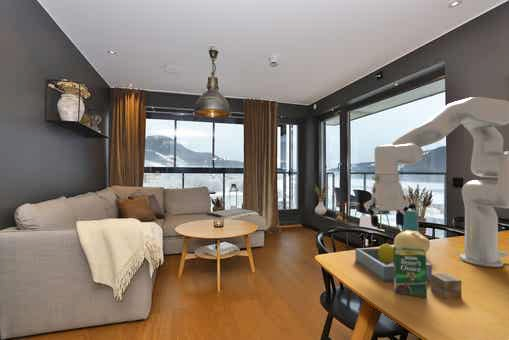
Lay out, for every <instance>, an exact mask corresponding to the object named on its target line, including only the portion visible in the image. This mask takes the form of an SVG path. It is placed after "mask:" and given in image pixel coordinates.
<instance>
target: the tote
mask: <svg viewBox="0 0 509 340" xmlns="http://www.w3.org/2000/svg"><path fill="white" fill-rule="evenodd" d="M379 248H380V247H362V248H361V247H359V248H356V247H355V255H354V256H355V259H354V260H355V263H357V264H358V265H360V266H361V267H362V268H364V269H366V271H368V272H369V273H371V274H372V275H373V276H374V277H376V278H377V279H379V280H380V281H381V282H383V283H394V261H393V262H392V263H390V264H388V265H386V264H385V263H383V262H382V261H381V260H380V258H379V255H378V251H379ZM432 271H433V264H431V263H429V262H427V261H426V276H427V281H431V274H433V272H432Z"/></svg>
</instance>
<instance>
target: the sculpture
mask: <svg viewBox="0 0 509 340" xmlns="http://www.w3.org/2000/svg"><path fill="white" fill-rule="evenodd" d="M430 244H431V241H430V240H429V239H428V238H427V237H426V236H424V235H423V234H421V232H420V231H411V230H410V231H409V230H406V231H404V232H403V231H401V232H399V233H398V234H397V235H396V236H395V237H394V239H393V247H402V248H414V249H415V248H417V249H424V250H425V251H426V253H427V252H428V251H429V250H430Z"/></svg>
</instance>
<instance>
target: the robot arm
mask: <svg viewBox="0 0 509 340" xmlns="http://www.w3.org/2000/svg"><path fill="white" fill-rule="evenodd" d="M508 124H509V101H508V100H504V99H499V98H498V99H495V98H490V97H489V98H488V97H482V96H472V97H468V98H464V99H461V100H457V101H453V102H451V103H448V104H447V105H445V106H444V107H443V108H441V109H440V110H438V112H436V113H435V114H434V115H432V116H431V117H430V118H429V119H428V120H426V121H424V123H422V124H421V125H419V126H417V127H415V128H414V129H412V130H410V131H408V132H407V133H405V134H404V135H402V136H400V137H398V138H397V139H396V140H395V141H393V142H392V143H391V144H384V145H377V146H376V147H375V148H374V176H372V178H371V180H372V181H374V182H373V185H372V191H371V199H370V200H368V201H366V202H365V203H363V206H364V208H365V210H366V212H367V213H368V214H369V215H370V223H371V226H373V227H375V228H379V216H378V214H379V213H380V212H391V211H392V212H395V211H396V214H395V222H396V225H398V226H400V227H403V225H404V215H405V212H406V211H407V210H409V209H408V207H409V205H410V203H411V202H410V201H408V200H407V199H405V198H404V191H403V186H402V183H401V182H399V165H404V166H408V165H409V166H410V165H415V164H417V163H419V162H420V161H422V159H423V158H424V150H423V149H422V147H426V146H430V145H433V144H436V143H438V142H440V141H442V140H443V139H445V138H446V137H447V136H448V135H449V134H450V133H451V132H453V131H454V130H455V129H457V128H458V127H459V126H460V125H462V126H463V127H464V128H465V129H466V130H468V132H469V133H470V135H471V136H472V138H473V148H472V155H471V161H470V162H471V163H470V171H471V173H472V174H473V175H475V176H477V177H481V178H483V177H485V178H497V180H489V179H473V180H469V181H467V182H466V183H465V184H463V186H462V188H461V195H462V201H463V204H464V252H463V253H461V254H460V255H459V259H460V260H462V261H464V262H466V263H468V264H472V265H476V266H481V267H486V268H501V267H503V266H504V262H503V260H500V259H501V258H508V257H509V253H508V252H506V251H500V250H498V242H499V241H498V239H499V238H498V234H499V233H498V232H499V231H498V230H499V228H498V227H499V226H498V223H499V219H498V214H497V212H496V211H495V208H503V209H509V150H508V151H507V150H506V151H505V150H504V137H503V135H502V133H500V132H499V130H498V129H497V128H496V127H500V126H505V125H508ZM371 208H372V209H371Z"/></svg>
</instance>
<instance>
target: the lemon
mask: <svg viewBox="0 0 509 340" xmlns="http://www.w3.org/2000/svg"><path fill="white" fill-rule="evenodd" d="M393 247H394V246H392V245H391V244H389V243H388V242H386V243H382V244H381V245H379V247H378V248H379V251H378V255H379V258H380V260H381V261H382V262H383V263H385V264H386V265H388V264H390V263H392V262H393V261H394V257H393Z"/></svg>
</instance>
